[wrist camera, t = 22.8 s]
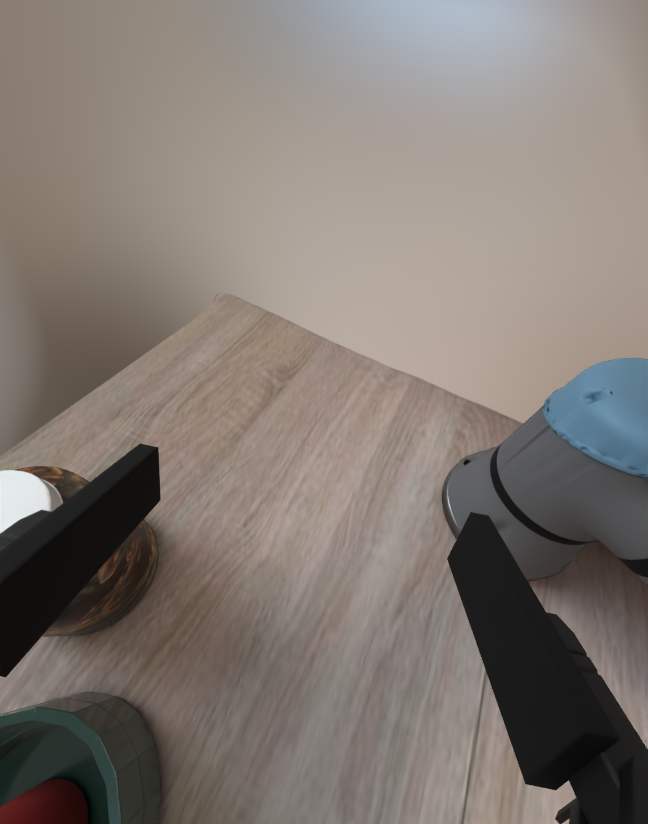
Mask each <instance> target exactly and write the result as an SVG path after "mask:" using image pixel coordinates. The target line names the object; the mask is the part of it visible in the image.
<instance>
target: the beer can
mask: <svg viewBox="0 0 648 824" xmlns="http://www.w3.org/2000/svg"><path fill="white" fill-rule="evenodd" d="M0 824H88V807H87V804H86V801H85V798H84V795H83V792H82V791H81V790H80V789H79V788H78V787H77V786H76V785H75V784H74V783H73V782H71V781H68V780H64V779H61V778H59V779H54V780H48V781H44V782H43V783H41V784H39V785H37V786H35V787H34V788H32V789H30V790H28V791H27V792H25V793H23V794H22V795H20V796H18V797H17V798H15V799H13V800H11V801H10V802H8V803H6V804H5V805H3V806H1V807H0Z"/></svg>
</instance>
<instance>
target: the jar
mask: <svg viewBox="0 0 648 824" xmlns="http://www.w3.org/2000/svg"><path fill="white" fill-rule="evenodd" d="M89 483H90V482H89V481H88V480H86V479H84V478H83V477H81V476H79V475H77V474H75V473H73V472H70V471H68V470H65V469H61V468H57V467H46V466H35V467H26V468H21V469H16V470H7V471H0V533H2V532H3V531H4V530H6V529H7V528H9V527H10V526H11V525H13V524H14V523H15V522H17V521H18V520H20V519H22V518H24V517H27V516H29V515H31V514H33V513H35V512H37V511H40V510H46V511H51V512H52V511H53V510H55V509H56V508H57V507H59V506H60V505H61V504H63V503H64V502H65V501H66V500H68V499H69V498H70V497H72V496H73V495H74V494H76V493H77V492H78V491H79V490H81V489H82V488H83V487H85V486H86V485H87V484H89ZM157 561H158V545H157V540H156V537H155V534H154V532H153V530H152V529H151V527H150V526H149V525H148V524H147V523H146V522H145V521H144V520H142V522H141V523H140V524H139V525H138V526H137V527H136V528H135V530H134V531H133V532H132V533H131V534H130V535H129V536H128V538H127V539H126V540H125V541H124V542H123V543H122V545H121V546H120V547H119V548H118V549H117V550H116V551H115V553H114V554H113V555H112V556H111V557H110V558H109V559H108V561H107V562H106V563H105V564H104V565H103V566H102V567H101V569H100V570H99V571H98V572H97V573H96V574H95V576H94V577H93V578H92V579H91V580H90V581H89V582H88V584H87V585H86V586H85V587H84V588H83V589H82V590H81V592H80V593H79V594H78V595H77V596H76V597H75V598H74V600H73V601H72V602H71V603H70V604H69V605H68V606H67V608H66V609H65V610H64V611H63V612H62V613H61V615H60V616H59V617H58V618H57V619H56V620H55V621H54V623H53V624H52V625H51V626H50V627H49V628H48V629H47V631H46V632H45V633H44V634H43V635H42V636H41V637H46V636H75V635H84V634H89V633H93V632H96V631H99V630H101V629H104V628H106V627H108V626H110V625H112V624H113V623H115V622H116V621H118V620H119V619H121V618H122V617H123V616H125V615H126V614H127V613H128V612H129V611H130V610H131V609H132V608H133V607H134V606H135V605H136V604H137V603H138V602H139V600H140V599H141V598H142V596H143V595H144V594H145V592H146V590H147V589H148V587H149V585H150V583H151V581H152V579H153V576H154V573H155V570H156V566H157Z"/></svg>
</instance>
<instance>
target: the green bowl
mask: <svg viewBox="0 0 648 824" xmlns="http://www.w3.org/2000/svg"><path fill="white" fill-rule="evenodd" d="M59 778H61V779H64V780H68V781H71V782H73V783H74V784H75V785H76V786H77V787H78V788H79V789H80V790H81V791H82V792H83V795H84V798H85V801H86V804H87V807H88V824H158V818H159V807H160V795H161V779H160V773H159V766H158V760H157V753H156V747H155V743H154V741H153V739H152V737H151V735H150V733H149V731H148V729H147V727H146V725H145V723H144V721H143V719H142V717H141V716H140V714H139V713H138V712H136V711H135V710H134V709H132V708H131V707H130V706H129V705H127V704H126V703H125V702H123V701H122V700H121V699H119V698H118V697H116V696H110V695H105V694H99V693H93V692H85V693H80V694H76V695H71V696H67V697H62V698H58V699H54V700H51V701H47V702H43V703H40V704H36V705H33V706H29V707H25V708H22V709H18V710H15V711H11V712H7V713H4V714H0V807H1V806H3V805H5V804H6V803H8V802H10V801H11V800H13V799H15V798H17V797H18V796H20V795H22V794H23V793H25V792H27V791H28V790H30V789H32V788H34V787H35V786H37V785H39V784H41V783H43V782H44V781H48V780H54V779H59Z"/></svg>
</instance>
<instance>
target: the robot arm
mask: <svg viewBox="0 0 648 824" xmlns="http://www.w3.org/2000/svg"><path fill="white" fill-rule="evenodd" d="M160 500H161V499H160V476H159V453H158V447H153V446H148V445H143V444H139V445H138V446H137V447H135V448H134V449H133V450H131V451H130V452H129V453H127V454H126V455H125V456H124V457H122V458H121V459H120V460H118V461H117V462H116V463H114V464H113V465H112V466H111V467H109V468H108V469H107V470H105V471H104V472H103V473H101V474H100V475H99V476H98V477H96V478H95V479H94V480H92V481H91V482H90V483H89V484H87V485H86V486H85V487H83V488H82V489H81V490H79V491H78V492H77V493H76V494H74V495H73V496H72V497H70V498H69V499H68V500H66V501H65V502H64V503H63V504H61V505H60V506H59V507H57V508H56V509H55V510H53V511H52V512H51V511H46V510H40V511H37V512H35V513H33V514H31V515H29V516H27V517H24V518H22V519H20V520H18V521H17V522H15V523H14V524H13V525H11V526H10V527H9V528H7V529H6V530H4V531H3V532H2V533H0V676H2V677H6V676H7V675H8V674H9V673H10V672H11V671H12V670H13V668H14V667H15V666H16V665H17V664H18V663H19V662H20V660H21V659H22V658H23V657H24V656H25V655H26V654H27V652H28V651H29V650H30V649H31V648H32V647H33V646H34V644H35V643H36V642H37V641H38V640H39V639H40V637H41V636H42V635H43V634H44V633H45V632H46V631H47V629H48V628H49V627H50V626H51V625H52V624H53V623H54V621H55V620H56V619H57V618H58V617H59V616H60V615H61V613H62V612H63V611H64V610H65V609H66V608H67V606H68V605H69V604H70V603H71V602H72V601H73V600H74V598H75V597H76V596H77V595H78V594H79V593H80V592H81V590H82V589H83V588H84V587H85V586H86V585H87V584H88V582H89V581H90V580H91V579H92V578H93V577H94V576H95V574H96V573H97V572H98V571H99V570H100V569H101V567H102V566H103V565H104V564H105V563H106V562H107V561H108V559H109V558H110V557H111V556H112V555H113V554H114V553H115V551H116V550H117V549H118V548H119V547H120V546H121V545H122V543H123V542H124V541H125V540H126V539H127V538H128V536H129V535H130V534H131V533H132V532H133V531H134V530H135V528H136V527H137V526H138V525H139V524H140V523H141V522H142V520H143V519H144V518H145V517H146V516H147V515H148V514H149V512H150V511H151V510H152V509H153V508H154V507H155V506H156V504H157V503H158V502H159V501H160ZM442 503H443V509H444V513H445V516H446V519H447V522H448V524H449V526H450V528H451V530H452V532H453V534H454V535H455V537H456V538H457V540H456V542H455V544H454V546H453V548H452V550H451V552H450V554H449V556H448V558H447V560H448V562H449V565H450V568H451V571H452V574H453V577H454V580H455V583H456V585H457V588H458V591H459V594H460V597H461V600H462V603H463V606H464V608H465V611H466V614H467V617H468V620H469V623H470V626H471V629H472V631H473V634H474V637H475V640H476V643H477V646H478V649H479V652H480V654H481V657H482V660H483V663H484V666H485V669H486V672H487V675H488V677H489V680H490V683H491V686H492V689H493V692H494V695H495V698H496V700H497V703H498V706H499V709H500V712H501V715H502V718H503V721H504V723H505V726H506V729H507V732H508V735H509V738H510V741H511V744H512V746H513V749H514V752H515V755H516V758H517V761H518V764H519V767H520V769H521V772H522V775H523V778H524V781H525V784H528V785H533V786H538V787H543V788H548V789H552V790H557V789H558V788H559V787H561V786H562V785H563V784H564V783H566V782H567V781H568V780H569V781H570V784H571V786H572V788H573V791H574V793H575V795H576V797H577V798H576V799H574V800H573V801H571V802H570V803H569V804H567V805H566V806H565V807H563V808H562V809H560V810H559V811H558V813H557V816H556V818H555V819H556V820H557V821H558V823H559V824H562V823H563V822H565V821H566V820H568V819H569V818H570V821H569V824H648V749H647V747H646V746H645V745H644V743H643V742H642V740H641V738H640V737H639V735H638V734H637V732H636V731H635V729H634V727H633V726H632V724H631V723H630V721H629V720H628V718H627V716H626V715H625V713H624V712H623V710H622V709H621V707H620V705H619V704H618V702H617V701H616V699H615V697H614V696H613V694H612V693H611V691H610V690H609V688H608V686H607V685H606V683H605V682H604V680H603V679H602V677H601V675H598V673H597V669H596V668H595V666H594V664H593V663H592V661H591V660H590V658H589V657H587V656H586V654H587V653H586V652H585V650H584V649H583V647H582V645H581V644H580V642H579V641H578V639H577V638H576V636H575V634H574V633H573V632H572V631H571V630H570V629H569V628H568V626H567V625H566V624H565V623H564V622H563V621H562V620H561V619H560V618H559V617H558V616H557V615H556V614H551V613H546V612H545V610H544V608H543V607H542V605H541V603H540V602H539V600H538V598H537V596H536V595H535V593H534V591H533V590H532V588H531V586H530V585H529V583H528V581H527V580H534V579H540V578H544V577H548V576H552V575H555V574H557V573H559V572H560V571H562V570H563V569H564V568H566V567H567V566H568V564H569V563H570V562H571V561H572V559H573V558H574V557H575V556H576V555H577V554H578V553H579V552H580V551H581V550H582V549H583V548H584V547H585V546H586V544H587V543H590V542H594V541H599V542H601V543H602V544H603V545H605V546H606V547H607V548H608V549H609V550H610V551H611V552H612V553H613V554H614V555H615V556H617V557H618V558H619V559H620V560H621V561H622V562H623V563H624V564H625V565H626V566H627V567H629V568H630V569H631V571H633V572H634V573H635V574H636V575H637V576H638V577H639V578H640V579H641V580H642V581H643V582H644V583H645V584H646V585H647V586H648V359H641V358H621V359H613V360H608V361H604V362H601V363H598V364H595V365H593V366H591V367H589V368H587V369H585V370H584V371H582V372H581V373H580V374H579V375H577V376H576V377H575V378H574V379H572V380H571V381H570V382H569V383H567V384H566V385H565V386H564V387H562V388H560V389H558V390H556V391H554V392H553V393H552V394H551V395H550V396H549V397H548V398H547V399H546V401H545V404H544V405H543V406H542V407H541V408H540V409H539V410H538V411H537V412H536V413H535V414H534V415H533V416H532V417H530V418H529V419H528V420H527V421H526V422H525V423H524V424H523V425H521V426H520V427H519V428H518V429H517V430H516V431H515V432H514V433H513V434H511V435H510V436H509V437H508V438H507V439H506V440H505V441H504V442H503V443H502V444H501V445H499V446H497V447H494V448H491V449H488V450H484V451H481V452H478V453H475V454H472V455H469V456H467V457H465V458H464V459H462V460H461V461H460V462H459V463H458V464H457V465H456V466H455V467H454V468H453V469H452V470H451V471H450V473H449V474H448V476H447V477H446V480H445V482H444V486H443V491H442Z"/></svg>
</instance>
